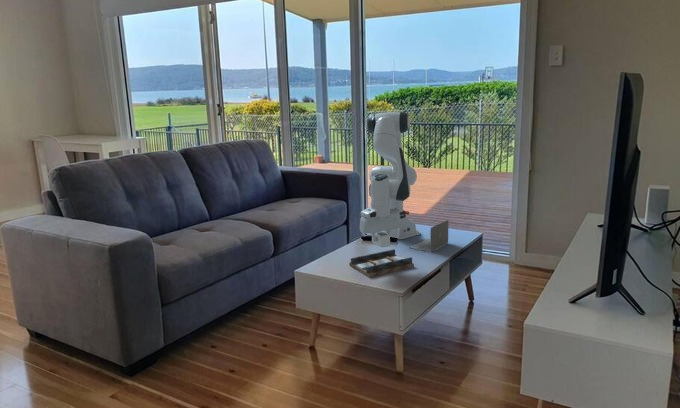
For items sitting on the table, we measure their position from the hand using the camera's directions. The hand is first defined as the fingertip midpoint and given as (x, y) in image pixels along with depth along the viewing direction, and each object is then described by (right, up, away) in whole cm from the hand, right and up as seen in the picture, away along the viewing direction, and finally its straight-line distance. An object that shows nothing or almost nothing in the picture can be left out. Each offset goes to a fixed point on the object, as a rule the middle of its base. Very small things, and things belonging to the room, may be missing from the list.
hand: (380, 240), depth 228 cm
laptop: (+28, -6, +30) cm, 41 cm away
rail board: (+1, -12, +3) cm, 13 cm away
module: (0, -2, 0) cm, 2 cm away
